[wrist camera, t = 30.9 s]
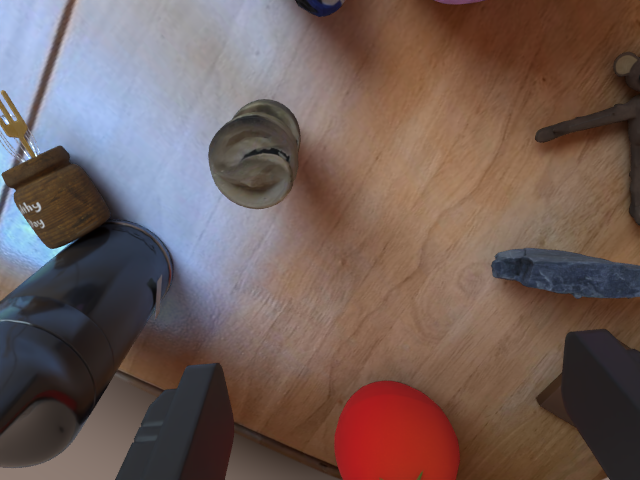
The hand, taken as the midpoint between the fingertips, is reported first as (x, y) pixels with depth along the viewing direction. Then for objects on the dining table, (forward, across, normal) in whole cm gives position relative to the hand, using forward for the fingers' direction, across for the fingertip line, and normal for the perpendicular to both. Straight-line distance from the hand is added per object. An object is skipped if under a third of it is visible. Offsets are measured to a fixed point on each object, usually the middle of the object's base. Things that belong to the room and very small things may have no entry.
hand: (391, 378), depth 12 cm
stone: (+33, -19, +13) cm, 40 cm away
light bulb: (+33, +6, -1) cm, 34 cm away
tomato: (+33, -2, +29) cm, 44 cm away
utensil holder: (+30, +23, +6) cm, 38 cm away
